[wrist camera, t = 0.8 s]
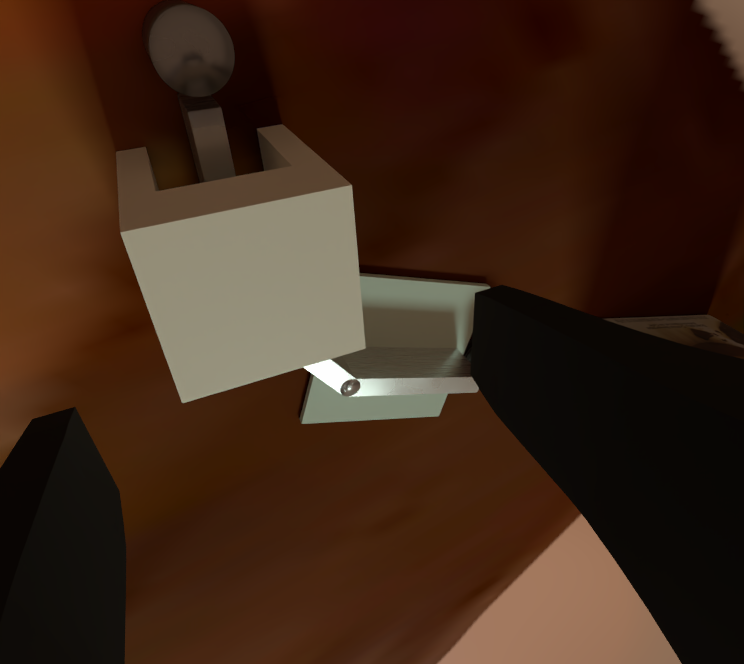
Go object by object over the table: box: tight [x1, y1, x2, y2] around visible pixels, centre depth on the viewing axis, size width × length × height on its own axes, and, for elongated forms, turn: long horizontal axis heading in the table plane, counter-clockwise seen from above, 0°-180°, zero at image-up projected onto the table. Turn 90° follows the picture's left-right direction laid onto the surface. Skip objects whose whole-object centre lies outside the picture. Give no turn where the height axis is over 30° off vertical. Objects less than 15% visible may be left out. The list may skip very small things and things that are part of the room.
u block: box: [116, 124, 366, 403], centre depth 15 cm, size 4×5×6 cm
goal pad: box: [300, 273, 490, 424], centre depth 23 cm, size 7×7×1 cm
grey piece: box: [142, 0, 479, 397], centre depth 19 cm, size 6×19×3 cm, turn 39°
